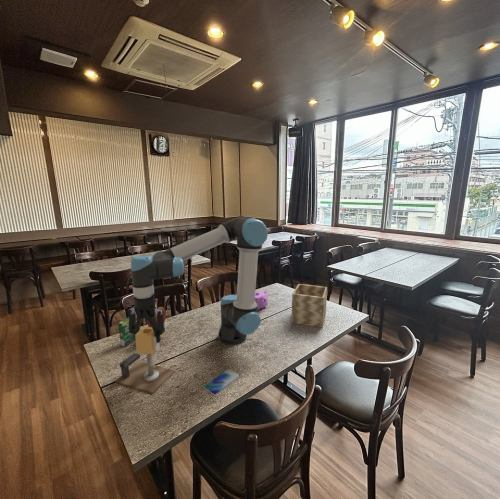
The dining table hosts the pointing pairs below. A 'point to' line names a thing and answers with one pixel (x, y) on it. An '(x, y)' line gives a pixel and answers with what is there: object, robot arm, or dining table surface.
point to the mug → (156, 317)
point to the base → (143, 374)
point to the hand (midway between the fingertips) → (148, 348)
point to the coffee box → (125, 333)
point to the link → (145, 340)
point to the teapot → (261, 299)
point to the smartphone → (221, 381)
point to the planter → (309, 305)
